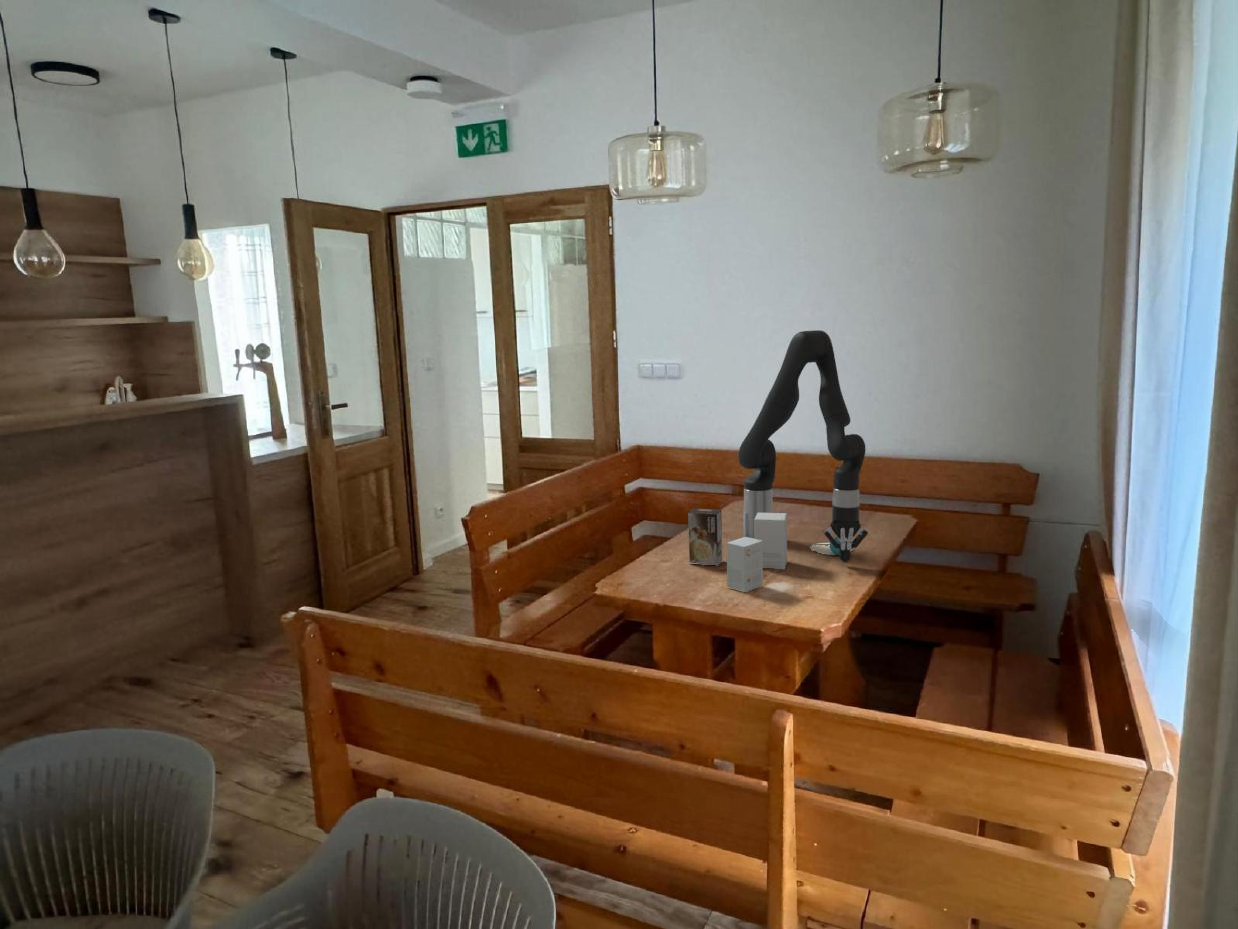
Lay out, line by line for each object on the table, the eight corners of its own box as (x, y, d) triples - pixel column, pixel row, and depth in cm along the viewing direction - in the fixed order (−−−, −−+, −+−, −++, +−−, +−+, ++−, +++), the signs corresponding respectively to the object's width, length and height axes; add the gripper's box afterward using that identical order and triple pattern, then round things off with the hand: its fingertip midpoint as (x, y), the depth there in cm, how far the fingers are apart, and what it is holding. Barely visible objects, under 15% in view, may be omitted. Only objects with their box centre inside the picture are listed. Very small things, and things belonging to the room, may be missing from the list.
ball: (829, 555, 252) (831, 556, 246) (827, 537, 252) (829, 537, 247) (848, 554, 251) (850, 554, 246) (846, 536, 252) (848, 536, 246)
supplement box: (787, 561, 245) (787, 512, 242) (785, 570, 236) (785, 520, 234) (757, 559, 247) (757, 511, 245) (753, 568, 239) (753, 518, 236)
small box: (745, 581, 227) (744, 536, 225) (763, 586, 223) (763, 540, 221) (726, 588, 222) (726, 542, 220) (744, 593, 217) (744, 546, 215)
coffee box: (723, 561, 247) (722, 509, 244) (718, 567, 241) (718, 514, 238) (693, 558, 250) (693, 507, 247) (688, 564, 244) (687, 512, 241)
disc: (814, 555, 250) (814, 554, 250) (806, 543, 262) (806, 543, 262) (857, 554, 249) (857, 554, 249) (846, 543, 262) (846, 542, 262)
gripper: (825, 507, 231) (824, 565, 234) (872, 506, 231) (871, 565, 234) (820, 501, 239) (819, 558, 242) (865, 500, 238) (864, 557, 241)
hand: (844, 561), depth 238 cm, fingers closed
